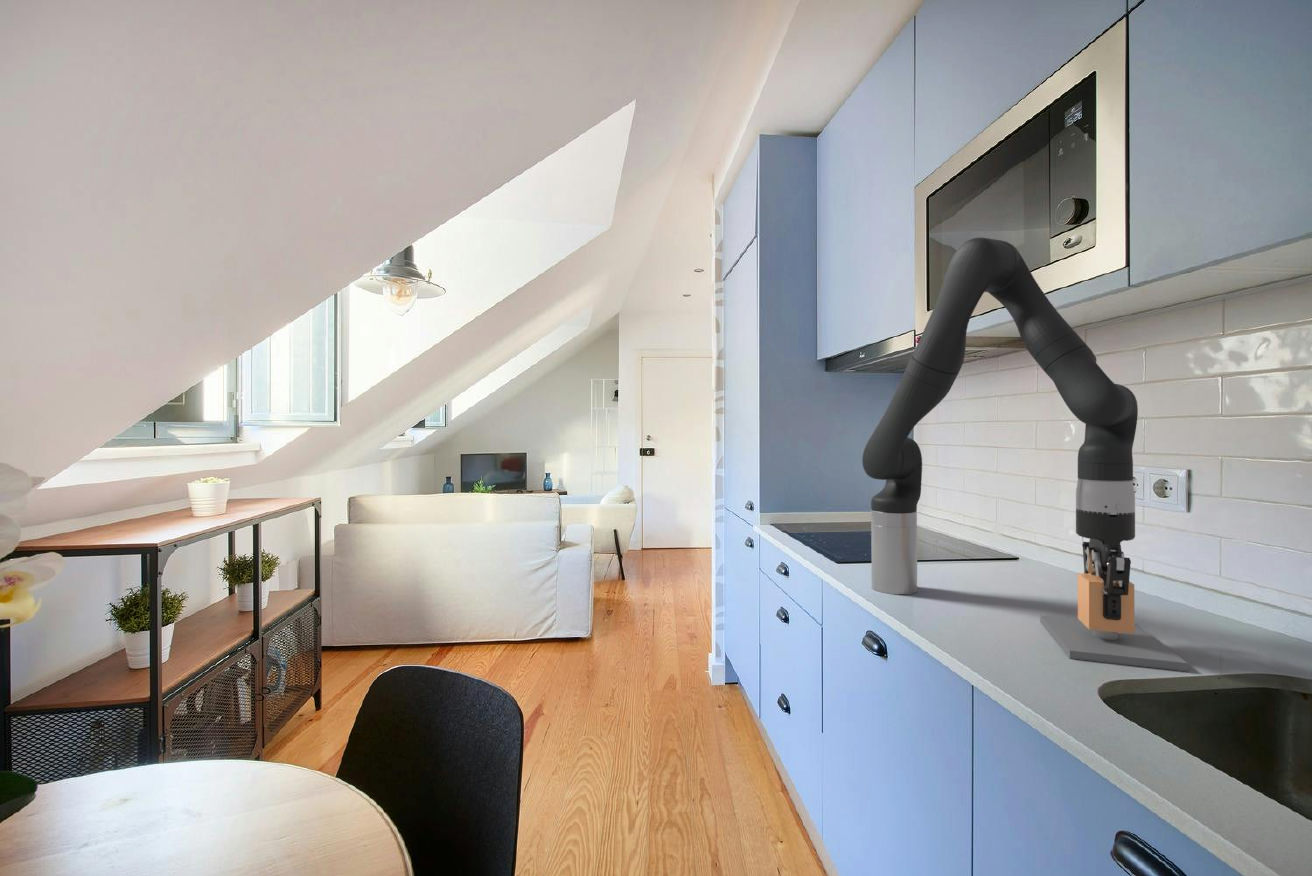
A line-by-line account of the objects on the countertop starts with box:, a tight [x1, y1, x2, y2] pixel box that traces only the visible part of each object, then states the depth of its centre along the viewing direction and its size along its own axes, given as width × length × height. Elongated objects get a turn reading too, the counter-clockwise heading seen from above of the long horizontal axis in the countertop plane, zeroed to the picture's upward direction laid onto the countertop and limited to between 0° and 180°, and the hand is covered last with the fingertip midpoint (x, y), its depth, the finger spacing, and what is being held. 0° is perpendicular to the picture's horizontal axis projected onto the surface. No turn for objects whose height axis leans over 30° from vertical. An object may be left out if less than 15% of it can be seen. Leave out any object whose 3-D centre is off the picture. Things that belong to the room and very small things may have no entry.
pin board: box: [1039, 614, 1189, 673], centre depth 93 cm, size 18×14×7 cm
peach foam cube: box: [1077, 572, 1135, 634], centre depth 93 cm, size 6×6×8 cm
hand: (1105, 613), depth 93 cm, fingers closed on peach foam cube, 5 cm apart
